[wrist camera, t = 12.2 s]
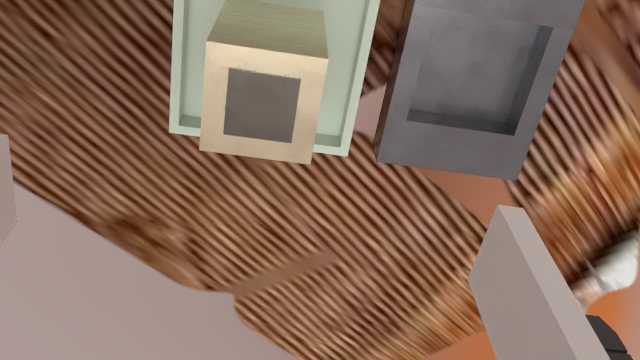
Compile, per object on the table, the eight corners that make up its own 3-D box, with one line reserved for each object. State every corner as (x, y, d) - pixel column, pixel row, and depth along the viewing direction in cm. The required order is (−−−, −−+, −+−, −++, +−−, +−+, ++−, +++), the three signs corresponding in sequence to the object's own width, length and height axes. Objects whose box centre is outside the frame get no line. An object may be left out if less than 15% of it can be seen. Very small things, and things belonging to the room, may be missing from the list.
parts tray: (175, 118, 41) (169, 132, 39) (183, -66, 35) (176, -60, 33) (345, 141, 42) (347, 156, 40) (381, -32, 36) (385, -25, 34)
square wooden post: (220, 87, 39) (198, 151, 31) (227, -4, 36) (205, 41, 28) (309, 100, 40) (310, 165, 32) (323, 11, 37) (328, 60, 29)
